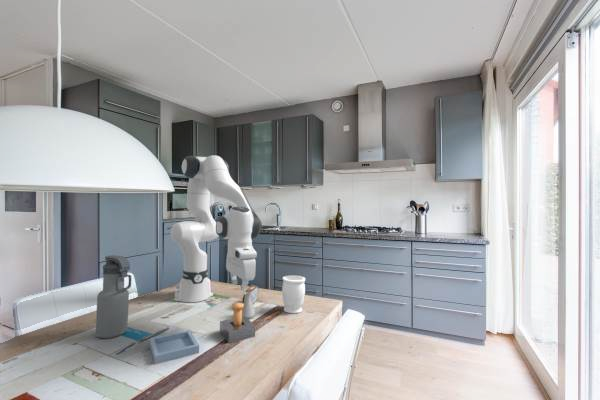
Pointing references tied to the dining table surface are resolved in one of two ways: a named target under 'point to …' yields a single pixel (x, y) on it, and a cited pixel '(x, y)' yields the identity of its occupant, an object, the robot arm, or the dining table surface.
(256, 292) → the tin
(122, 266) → the water bottle
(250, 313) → the flask
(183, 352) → the tray
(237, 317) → the wooden peg
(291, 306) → the jar
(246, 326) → the metal block with hole
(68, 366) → the dining table surface
